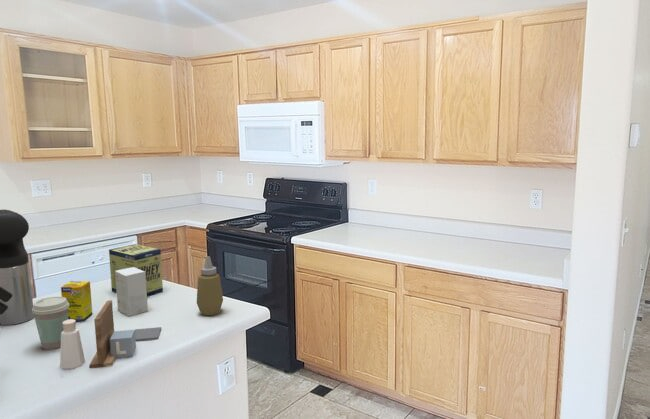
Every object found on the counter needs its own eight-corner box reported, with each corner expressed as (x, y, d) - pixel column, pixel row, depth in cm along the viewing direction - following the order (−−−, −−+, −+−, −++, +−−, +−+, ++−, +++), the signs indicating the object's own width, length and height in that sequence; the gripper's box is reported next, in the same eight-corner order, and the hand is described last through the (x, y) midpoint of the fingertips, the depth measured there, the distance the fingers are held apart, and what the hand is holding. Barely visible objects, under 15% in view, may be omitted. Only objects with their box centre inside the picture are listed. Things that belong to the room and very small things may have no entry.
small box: (148, 311, 148) (145, 271, 146) (128, 316, 143) (125, 275, 141) (136, 304, 153) (134, 266, 151) (117, 310, 149) (114, 270, 147)
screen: (89, 367, 112) (85, 320, 110) (102, 344, 124) (99, 301, 122) (112, 365, 113) (108, 318, 111) (122, 342, 125) (119, 299, 124)
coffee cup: (48, 337, 129) (44, 295, 127) (79, 337, 129) (75, 295, 127) (28, 351, 120) (23, 307, 118) (60, 352, 120) (56, 307, 118)
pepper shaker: (54, 367, 112) (50, 323, 111) (74, 357, 117) (70, 315, 116) (71, 371, 110) (67, 326, 109) (90, 361, 115) (86, 318, 114)
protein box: (138, 300, 158) (135, 255, 155) (110, 292, 166) (107, 249, 164) (164, 291, 166) (161, 249, 164) (136, 284, 175) (134, 243, 172)
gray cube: (111, 358, 116) (109, 339, 116) (115, 349, 121) (114, 331, 121) (132, 356, 117) (131, 337, 117) (136, 347, 122) (134, 329, 122)
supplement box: (63, 322, 139) (60, 286, 137) (73, 314, 145) (70, 280, 143) (83, 322, 139) (80, 286, 138) (93, 314, 145) (90, 280, 143)
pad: (130, 341, 126) (130, 339, 126) (135, 331, 133) (135, 329, 133) (158, 339, 127) (158, 337, 127) (161, 329, 134) (161, 327, 134)
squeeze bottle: (204, 319, 141) (202, 261, 138) (192, 312, 147) (189, 256, 144) (228, 312, 146) (226, 256, 143) (215, 305, 152) (213, 252, 149)
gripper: (-68, 266, 104) (-1, 307, 111) (-88, 284, 92) (-11, 329, 99) (-41, 240, 106) (23, 283, 113) (-57, 254, 93) (17, 301, 100)
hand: (7, 304), depth 106 cm, fingers open, 8 cm apart
